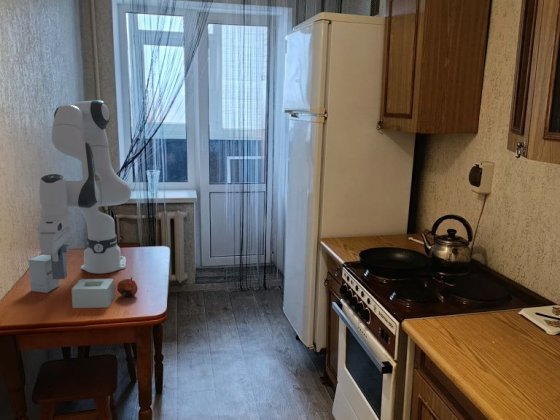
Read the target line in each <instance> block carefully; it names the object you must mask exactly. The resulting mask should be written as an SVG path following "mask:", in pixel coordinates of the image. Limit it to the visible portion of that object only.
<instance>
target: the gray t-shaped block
mask: <svg viewBox="0 0 560 420" xmlns="http://www.w3.org/2000/svg"><path fill="white" fill-rule="evenodd" d="M69 251H70V244H64V245H63V246H62V247H61V248H60V249H59V250H58V255H59V260H58V261H57V262H54V261H53V257H52V255H51V265H52V277H53V279H59V280H65V279H66V278H67V277H68V272H67V271H68V270H67V267H68V266H67V256H66V253H68V252H69Z"/></svg>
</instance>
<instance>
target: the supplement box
mask: <svg viewBox="0 0 560 420" xmlns="http://www.w3.org/2000/svg"><path fill="white" fill-rule="evenodd" d="M28 270H29V271H28V272H29V283H30V292H37V293H49V292H51V291H52V290H54V289H56V288H58V287H60V279H53V277H52V265H51V255H43V254H40V255H38V256H35V257H32V258H30V259H28Z"/></svg>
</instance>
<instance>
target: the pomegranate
mask: <svg viewBox="0 0 560 420" xmlns="http://www.w3.org/2000/svg"><path fill="white" fill-rule="evenodd" d="M116 291H117V292H118V293H119V294H120V295H121V296H122V298H121V299H120V301H123V299H124V298H125V297H132V298H133V297H134V296H136V294H137V292H138V285H137V283H136V281H135V280H133V277H131V278H125V279H122V280H120V281H118V283H117V286H116Z"/></svg>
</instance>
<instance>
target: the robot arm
mask: <svg viewBox="0 0 560 420" xmlns="http://www.w3.org/2000/svg"><path fill="white" fill-rule="evenodd" d="M53 119H54V120H53V122H52V129H51V143H52V145H53V146H54V148H55V149H56V150H57V151H59V152H60V153H62V154H64V155H66V156H68V157H72V158H73V159H74V158H75V159H77V160H79V161H80V162H81V166H82V167H81V168H82V175H83V178H82V180H65V177H64V176H63V175H62V174H57V173H56V174H55V173H52V174H51V173H50V174H45V175H44V176H42V177H41V178H40V181H39V187H38V189H39V191H38V192H39V194H38V195H39V203H40V206H41V211H40V220H39V223H38V224H37V227H36V232H37V233H39V236H38V240H39V247H40V252H41V255H52V257H53V261H54V262H57V261H58V260H59V255H58V250H59V249H60V248H61V247H62V246H63V245H66V243H67V242H68V241H70V240H71V237H72V230H71V223H70V213H69V209H68V208H75V209H76V210H78V211H79V212H80V213H81V214H82V216H83V217H84V221H85V224H86V229H87V238H86V244H87V246H86V249H85V250H84V251H83V262H84V264H82V265H81V266H80V270H83V271H86V272H87V273H90V274H108V273H113V272H116V271H120V270H124V269H126V267H127V264H126V263H127V259H126V256H123V255H121V253H122V251H121V248H120V246H119V245H118V238H117V234H116V224H115V220H114V217H112V216H111V215H110V214H107V213H105V212H102V211H101V210H99V208H100V207H106V206H107V207H110V206H119V205H122V204H125V203H128V202H129V200H130V199H131V197H132V190H131V186H130V185H129V184H128V182H127V181H125V180H124V179H122V178H120V176H119V175H118V174H117V173H116V171H115V169H114V168H113V166H112V160H111V154H110V146H109V139H108V135H107V131H106V127H107V125H108V124H109V123H110V119H111V113H110V109H109V106H108V104H107V103H105V101H103V100H101V99H100V100H97V99H93V100H84V101H83V100H82V101H78V102H73V103H70V104H63V105H59V106H58V107H57V108H56V109H55V111H54V113H53ZM96 176H97V177H98V178H99V179H98V180H97V178H96Z"/></svg>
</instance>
